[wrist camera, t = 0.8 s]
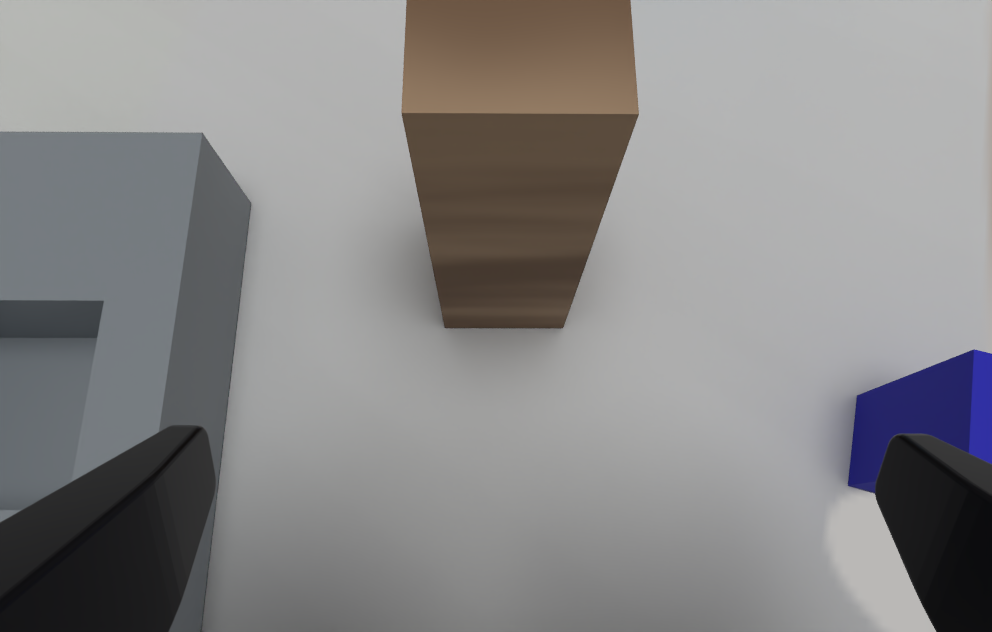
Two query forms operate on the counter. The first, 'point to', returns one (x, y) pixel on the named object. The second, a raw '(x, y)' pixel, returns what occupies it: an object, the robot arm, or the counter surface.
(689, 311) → the counter surface
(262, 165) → the counter surface
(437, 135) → the walnut peg
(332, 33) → the counter surface
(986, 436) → the blue stepped arch
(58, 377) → the grey socket block
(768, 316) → the counter surface
